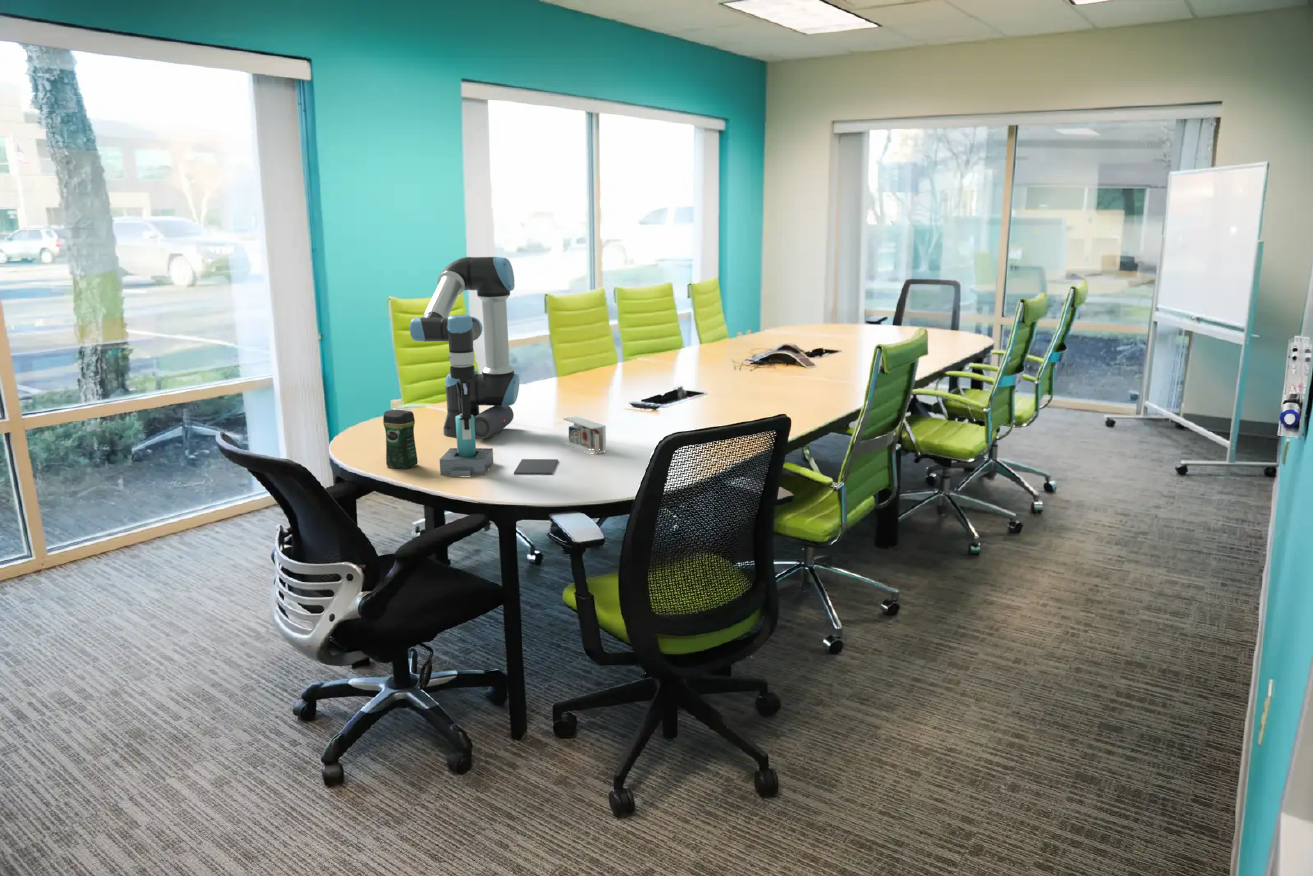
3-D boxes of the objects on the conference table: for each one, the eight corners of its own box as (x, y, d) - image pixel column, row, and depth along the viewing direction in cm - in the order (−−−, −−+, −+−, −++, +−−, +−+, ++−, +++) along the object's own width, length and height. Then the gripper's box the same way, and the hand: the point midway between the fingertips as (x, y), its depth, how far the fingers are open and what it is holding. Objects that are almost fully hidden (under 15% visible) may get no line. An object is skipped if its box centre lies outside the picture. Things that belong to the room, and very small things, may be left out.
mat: (522, 460, 307) (522, 459, 307) (558, 461, 307) (558, 459, 306) (513, 474, 291) (513, 472, 291) (551, 474, 291) (551, 472, 291)
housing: (452, 460, 307) (451, 446, 306) (494, 461, 306) (494, 446, 305) (438, 476, 288) (437, 461, 287) (483, 477, 288) (482, 461, 287)
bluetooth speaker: (492, 443, 330) (492, 415, 328) (468, 440, 332) (468, 413, 330) (515, 428, 352) (515, 403, 349) (492, 426, 354) (492, 401, 351)
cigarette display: (563, 443, 329) (563, 418, 327) (576, 441, 333) (576, 416, 330) (594, 455, 314) (594, 428, 312) (608, 452, 317) (607, 426, 315)
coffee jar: (422, 464, 302) (418, 409, 298) (406, 470, 295) (402, 413, 291) (398, 461, 306) (394, 406, 302) (382, 467, 299) (378, 411, 295)
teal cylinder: (456, 454, 298) (454, 412, 295) (475, 452, 300) (472, 411, 297) (458, 458, 293) (456, 416, 290) (477, 457, 295) (474, 415, 291)
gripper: (447, 360, 297) (451, 430, 303) (452, 370, 280) (456, 444, 285) (470, 359, 299) (474, 429, 305) (477, 369, 282) (481, 443, 287)
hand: (465, 436), depth 295 cm, fingers closed on teal cylinder, 6 cm apart
